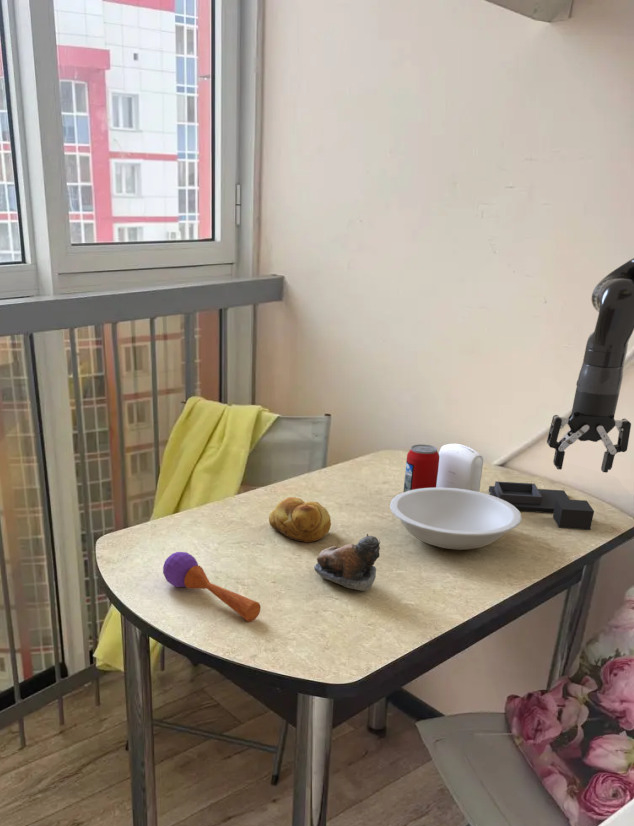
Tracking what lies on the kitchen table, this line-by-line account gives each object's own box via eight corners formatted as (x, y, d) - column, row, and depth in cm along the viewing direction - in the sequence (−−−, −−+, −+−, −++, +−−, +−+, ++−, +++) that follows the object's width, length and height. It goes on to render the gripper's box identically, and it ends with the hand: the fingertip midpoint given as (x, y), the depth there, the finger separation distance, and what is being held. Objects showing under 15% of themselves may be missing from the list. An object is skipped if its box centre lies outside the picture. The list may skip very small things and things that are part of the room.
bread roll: (258, 530, 153) (258, 492, 150) (291, 517, 159) (293, 480, 156) (306, 550, 144) (308, 510, 141) (340, 536, 150) (342, 497, 147)
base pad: (563, 494, 172) (565, 482, 171) (575, 514, 161) (578, 502, 160) (488, 490, 174) (490, 478, 173) (496, 509, 164) (498, 497, 162)
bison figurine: (306, 578, 134) (308, 524, 130) (332, 565, 138) (335, 513, 134) (362, 602, 126) (366, 546, 122) (387, 588, 131) (392, 533, 126)
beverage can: (406, 493, 172) (412, 441, 167) (437, 498, 169) (443, 446, 164) (399, 503, 166) (404, 450, 162) (430, 508, 164) (436, 454, 159)
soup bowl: (543, 549, 145) (549, 517, 142) (451, 579, 134) (456, 544, 131) (449, 509, 164) (453, 479, 161) (361, 532, 152) (364, 500, 150)
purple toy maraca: (238, 606, 116) (153, 556, 129) (240, 636, 120) (158, 584, 132) (265, 587, 120) (180, 540, 132) (267, 617, 123) (184, 568, 135)
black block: (583, 518, 159) (586, 500, 157) (590, 529, 154) (594, 511, 152) (552, 516, 160) (555, 498, 158) (558, 527, 155) (562, 509, 153)
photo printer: (431, 495, 171) (437, 441, 166) (444, 491, 173) (451, 438, 168) (466, 509, 163) (474, 453, 158) (480, 505, 165) (488, 450, 160)
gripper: (562, 390, 143) (547, 473, 150) (644, 394, 141) (625, 478, 148) (554, 382, 150) (539, 461, 157) (632, 385, 148) (614, 466, 154)
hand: (581, 469), depth 152 cm, fingers open, 8 cm apart
